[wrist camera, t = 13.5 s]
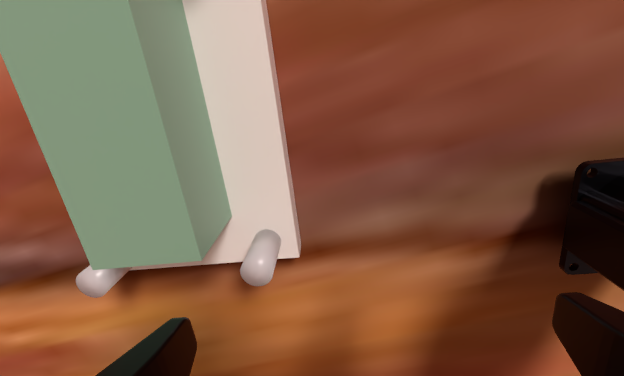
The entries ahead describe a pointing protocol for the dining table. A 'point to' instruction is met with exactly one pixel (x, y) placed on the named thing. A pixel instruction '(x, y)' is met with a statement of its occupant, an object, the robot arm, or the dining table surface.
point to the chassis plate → (238, 143)
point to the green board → (120, 124)
